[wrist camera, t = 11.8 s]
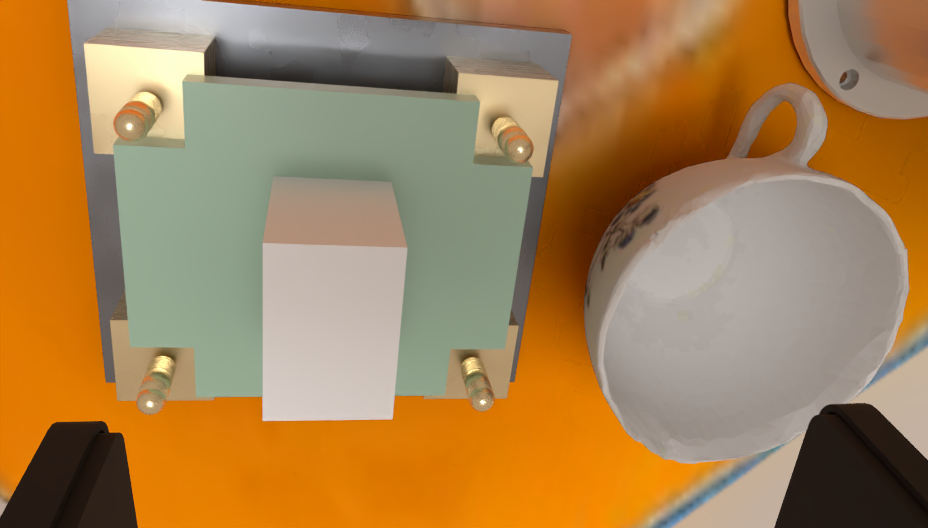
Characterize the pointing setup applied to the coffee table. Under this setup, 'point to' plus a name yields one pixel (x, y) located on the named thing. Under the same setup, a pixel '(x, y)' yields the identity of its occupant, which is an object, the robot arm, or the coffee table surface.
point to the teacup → (743, 296)
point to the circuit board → (318, 136)
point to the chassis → (307, 61)
